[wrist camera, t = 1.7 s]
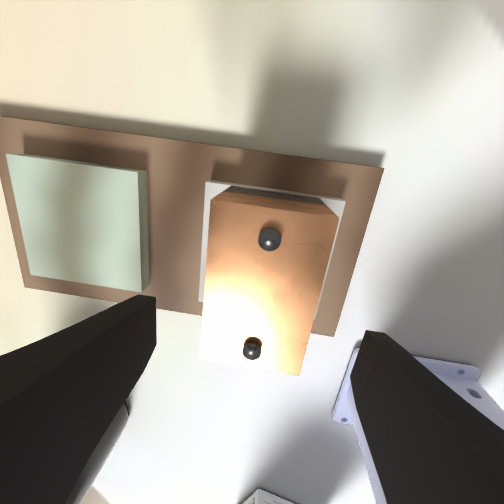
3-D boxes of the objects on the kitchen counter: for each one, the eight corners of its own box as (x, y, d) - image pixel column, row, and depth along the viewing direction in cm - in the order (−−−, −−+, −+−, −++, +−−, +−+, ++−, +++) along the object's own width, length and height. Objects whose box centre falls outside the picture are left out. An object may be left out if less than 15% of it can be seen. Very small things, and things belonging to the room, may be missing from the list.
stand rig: (379, 167, 15) (393, 169, 14) (331, 329, 20) (337, 348, 18) (-1, 116, 16) (-36, 111, 14) (33, 282, 21) (9, 295, 19)
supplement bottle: (111, 373, 23) (-38, 572, 12) (141, 425, 26) (38, 634, 14) (50, 383, 25) (-137, 573, 13) (84, 432, 27) (-53, 630, 16)
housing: (318, 197, 14) (341, 219, 9) (292, 316, 17) (299, 380, 12) (231, 185, 15) (208, 200, 10) (220, 304, 17) (198, 363, 13)
